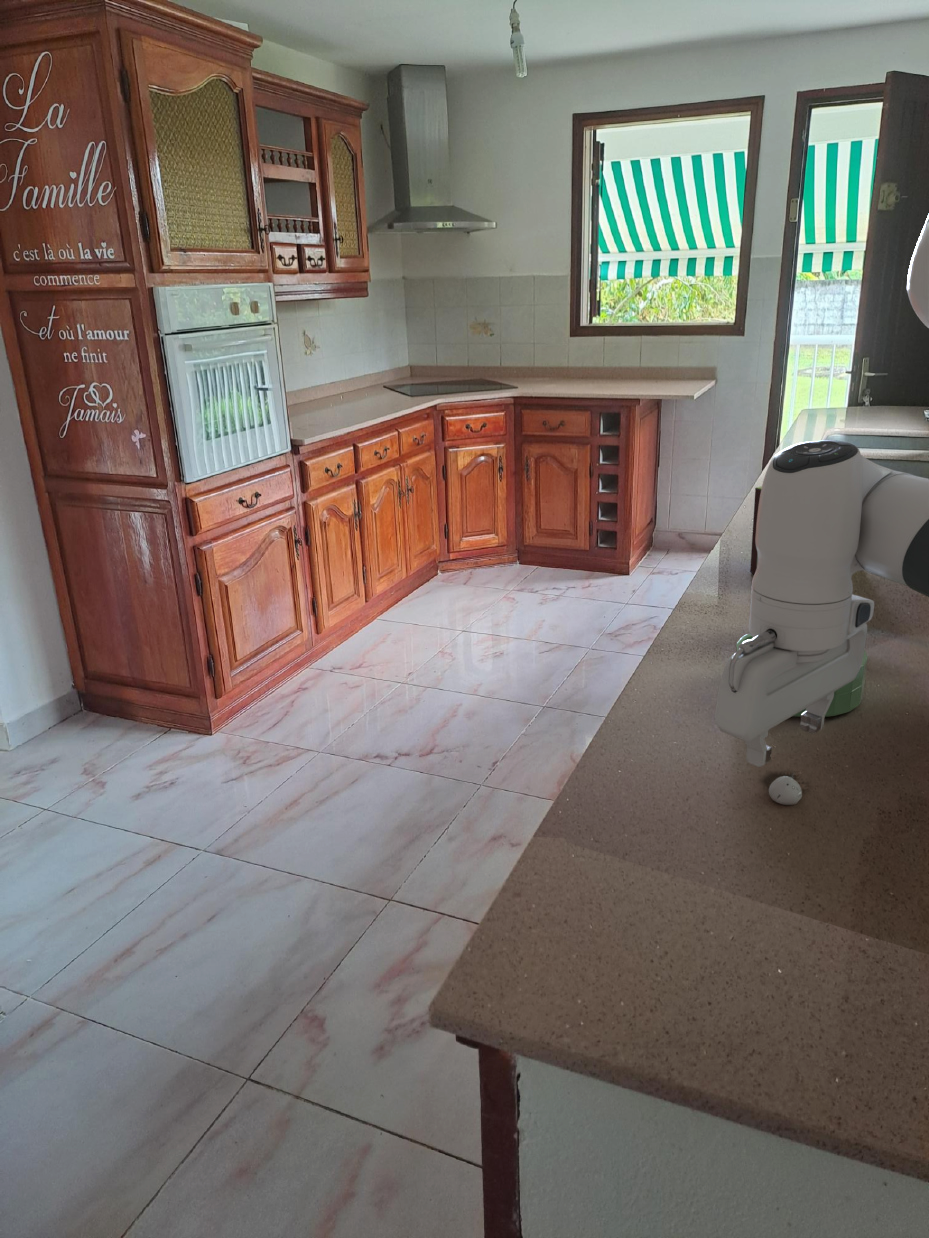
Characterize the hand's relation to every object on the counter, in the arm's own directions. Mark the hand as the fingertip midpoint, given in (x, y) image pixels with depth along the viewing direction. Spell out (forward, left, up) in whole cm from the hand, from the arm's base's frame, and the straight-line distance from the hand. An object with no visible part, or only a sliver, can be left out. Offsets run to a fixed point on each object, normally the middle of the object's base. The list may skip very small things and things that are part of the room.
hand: (785, 745), depth 88 cm
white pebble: (0, 0, -6) cm, 6 cm away
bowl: (+12, -22, -6) cm, 26 cm away
